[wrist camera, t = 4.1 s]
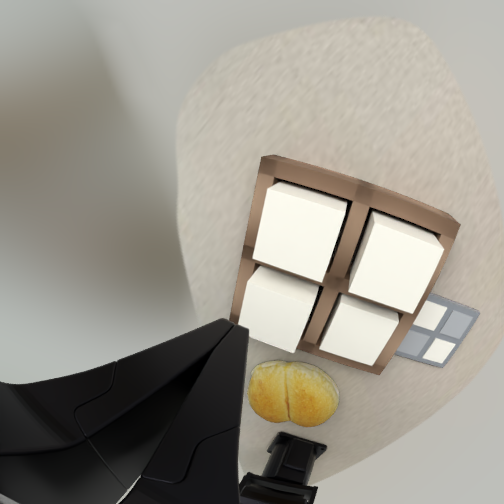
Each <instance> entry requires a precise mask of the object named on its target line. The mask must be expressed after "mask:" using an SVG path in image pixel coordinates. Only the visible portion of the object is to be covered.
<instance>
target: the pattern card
mask: <svg viewBox="0 0 504 504" xmlns="http://www.w3.org/2000/svg"><path fill="white" fill-rule="evenodd" d="M479 314H480V312H479V311H478V310H476V309H473V308H470V307H468V306H465V305H462V304H460V303H457V302H454V301H452V300H449V299H446V298H444V297H441V296H438V295H436V294H433V293H430V294H429V296H428V298H427V300H426V301H425V303H424V305H423V307H422V309H421V311H420V312H419V314H418V316H417V318H416V319H415V321H414V323H413V324H412V326H411V328H410V329H409V331H408V333H407V334H406V336H405V338H404V339H403V341H402V342H401V344H400V346H399V347H398V349H397V350H396V352H395V353H394V354H396V355H399V356H402V357H406V358H409V359H413V360H416V361H420V362H423V363H427V364H430V365H434V366H438V367H441V368H443V367H444V366H445V364H446V363H447V362H448V361H449V359H450V358H451V356H452V355H453V354H454V352H455V351H456V350H457V348H458V347H459V345H460V344H461V342H462V341H463V339H464V338H465V337H466V335H467V333H468V332H469V330H470V329H471V327H472V326H473V324H474V323H475V321H476V319H477V318H478V316H479Z"/></svg>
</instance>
